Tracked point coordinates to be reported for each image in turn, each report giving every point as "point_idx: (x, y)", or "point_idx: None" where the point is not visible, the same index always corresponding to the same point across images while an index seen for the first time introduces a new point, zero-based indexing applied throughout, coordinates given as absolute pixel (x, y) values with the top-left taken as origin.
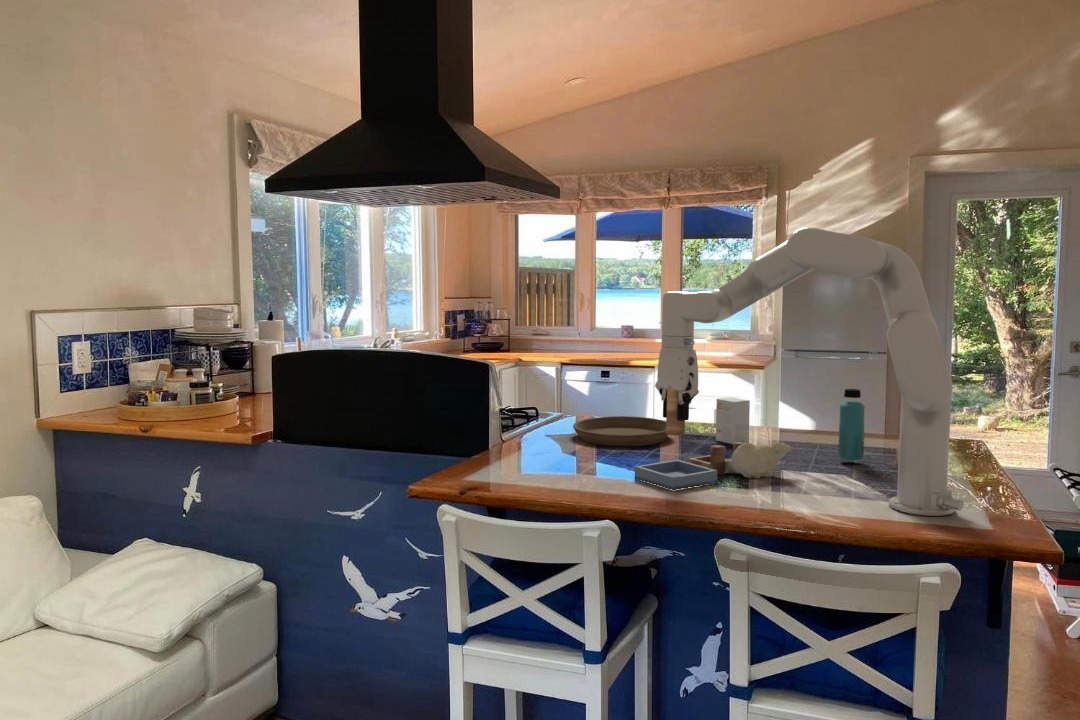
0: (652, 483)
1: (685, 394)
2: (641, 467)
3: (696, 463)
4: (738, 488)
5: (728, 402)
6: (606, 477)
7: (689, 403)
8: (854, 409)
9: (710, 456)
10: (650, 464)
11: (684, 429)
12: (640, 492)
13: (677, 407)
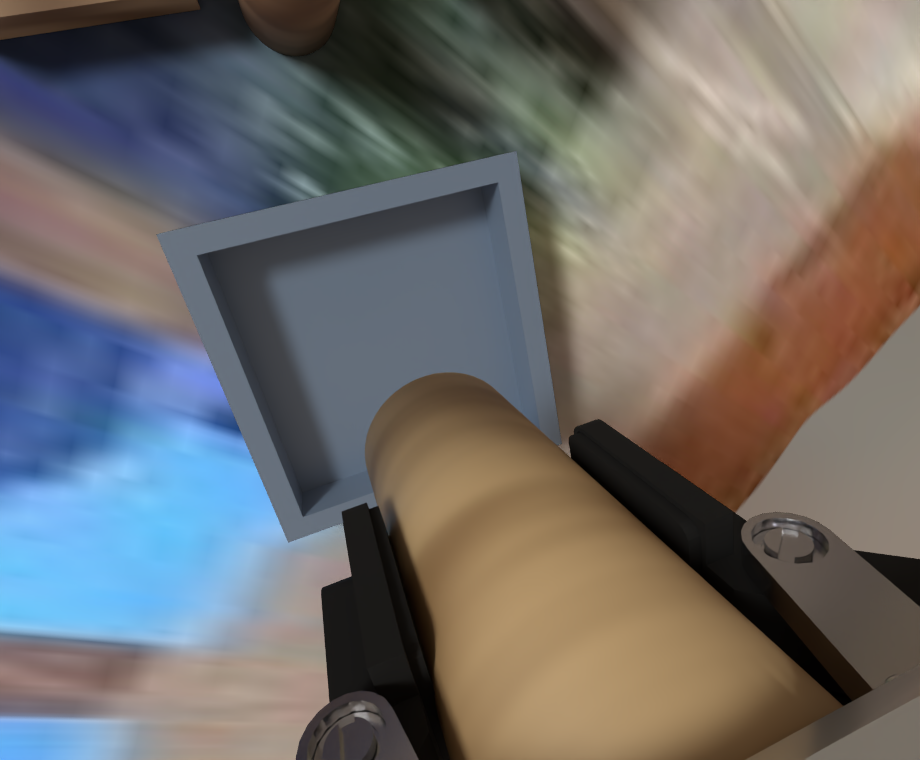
0: None
1: (840, 680)
2: (323, 518)
3: (51, 18)
4: (599, 109)
5: None
6: (217, 609)
7: (776, 528)
8: None
9: (263, 9)
10: (262, 454)
11: (509, 402)
12: None
13: None
